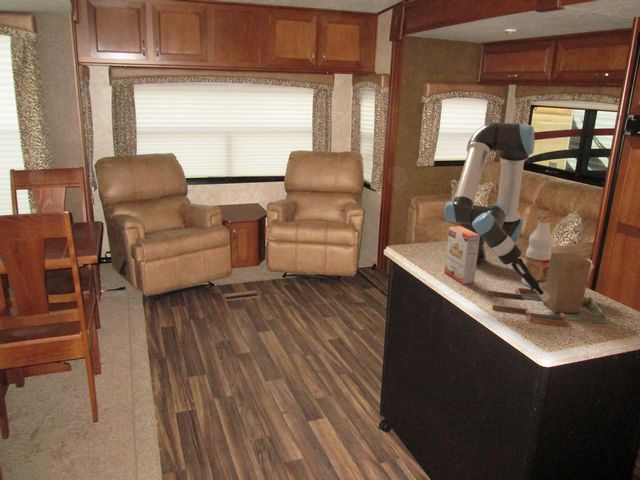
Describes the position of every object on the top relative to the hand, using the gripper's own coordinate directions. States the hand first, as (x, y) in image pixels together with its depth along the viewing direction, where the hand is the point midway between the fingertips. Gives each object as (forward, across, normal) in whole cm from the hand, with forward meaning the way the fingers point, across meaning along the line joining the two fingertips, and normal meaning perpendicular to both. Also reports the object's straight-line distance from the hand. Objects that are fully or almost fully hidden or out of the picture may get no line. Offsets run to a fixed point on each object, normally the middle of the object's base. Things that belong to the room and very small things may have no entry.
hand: (546, 299), depth 179 cm
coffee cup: (+12, -17, +7) cm, 22 cm away
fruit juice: (+3, -26, -2) cm, 26 cm away
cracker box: (-18, -23, -24) cm, 38 cm away
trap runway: (+2, -1, -4) cm, 4 cm away
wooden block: (+7, -3, +1) cm, 8 cm away
